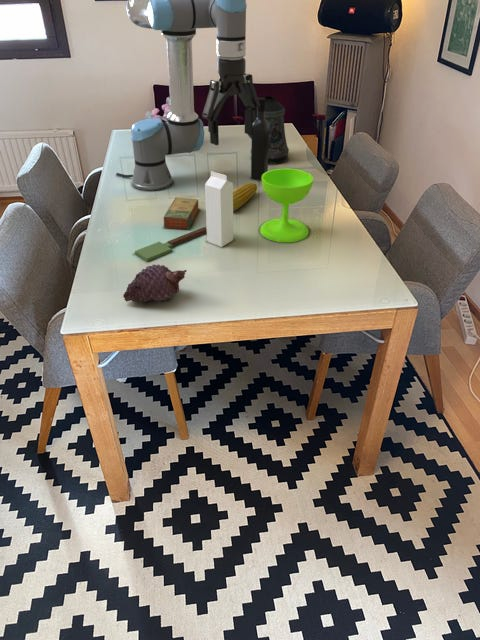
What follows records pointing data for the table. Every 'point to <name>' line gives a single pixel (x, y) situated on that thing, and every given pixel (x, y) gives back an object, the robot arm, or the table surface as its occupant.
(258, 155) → the wine bottle
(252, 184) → the food
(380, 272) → the table surface
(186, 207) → the carton
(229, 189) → the milk
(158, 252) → the spatula
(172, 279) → the pine cone
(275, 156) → the beer stein
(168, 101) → the flower
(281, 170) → the wineglass
